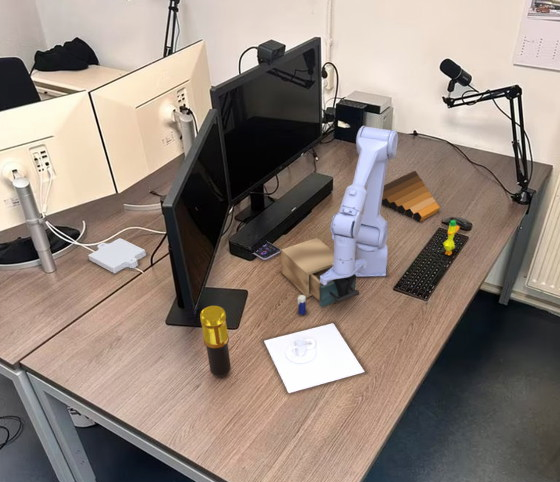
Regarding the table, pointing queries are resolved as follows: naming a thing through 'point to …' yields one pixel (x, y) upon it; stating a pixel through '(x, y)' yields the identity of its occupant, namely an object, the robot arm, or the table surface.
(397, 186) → the pan flute
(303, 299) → the pen
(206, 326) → the gold capped bottle
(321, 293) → the drawer
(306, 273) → the cabinet
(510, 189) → the table surface
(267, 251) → the smartphone
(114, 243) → the mounting plate
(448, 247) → the toy figure
